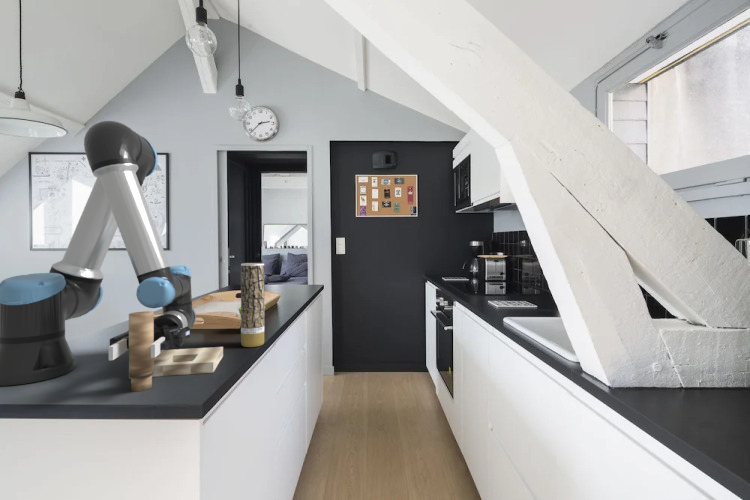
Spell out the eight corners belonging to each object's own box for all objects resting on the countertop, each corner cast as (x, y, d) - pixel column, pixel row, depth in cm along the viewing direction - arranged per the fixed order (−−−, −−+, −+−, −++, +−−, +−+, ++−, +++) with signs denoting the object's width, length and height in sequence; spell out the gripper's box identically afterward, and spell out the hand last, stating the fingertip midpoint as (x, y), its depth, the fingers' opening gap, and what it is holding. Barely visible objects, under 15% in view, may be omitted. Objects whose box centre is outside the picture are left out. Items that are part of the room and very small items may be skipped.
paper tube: (268, 345, 115) (268, 263, 114) (246, 349, 110) (246, 264, 110) (258, 341, 120) (258, 262, 119) (237, 344, 115) (237, 263, 115)
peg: (124, 393, 77) (124, 315, 77) (133, 384, 82) (133, 311, 82) (150, 391, 78) (149, 314, 78) (157, 383, 83) (157, 310, 83)
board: (129, 378, 86) (128, 367, 86) (150, 360, 99) (150, 350, 99) (213, 372, 90) (213, 362, 90) (223, 355, 103) (223, 346, 103)
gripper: (208, 340, 100) (185, 367, 77) (125, 344, 95) (75, 374, 73) (208, 312, 100) (185, 331, 77) (124, 315, 95) (74, 336, 73)
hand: (132, 352), depth 75 cm, fingers open, 7 cm apart
